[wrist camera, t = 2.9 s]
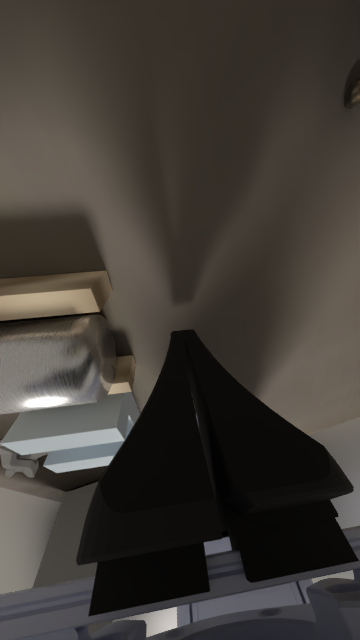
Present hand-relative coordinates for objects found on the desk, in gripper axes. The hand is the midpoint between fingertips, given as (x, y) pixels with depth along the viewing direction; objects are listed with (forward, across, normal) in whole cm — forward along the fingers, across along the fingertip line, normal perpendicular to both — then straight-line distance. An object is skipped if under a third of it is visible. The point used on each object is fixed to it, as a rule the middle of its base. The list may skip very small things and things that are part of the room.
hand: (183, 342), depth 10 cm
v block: (+2, +9, +10) cm, 14 cm away
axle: (+2, +10, 0) cm, 10 cm away
